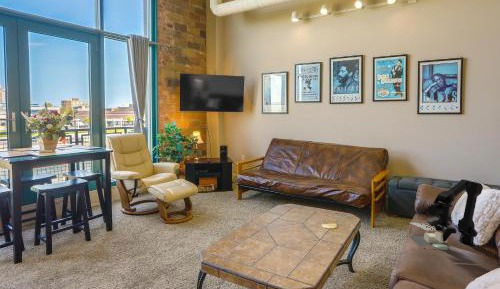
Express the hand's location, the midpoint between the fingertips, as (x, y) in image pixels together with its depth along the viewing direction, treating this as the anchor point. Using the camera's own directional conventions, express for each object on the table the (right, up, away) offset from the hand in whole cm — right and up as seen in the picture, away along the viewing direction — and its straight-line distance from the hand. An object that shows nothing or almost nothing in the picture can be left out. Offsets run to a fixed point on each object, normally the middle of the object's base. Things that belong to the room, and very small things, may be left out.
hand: (441, 239), depth 194 cm
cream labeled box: (+1, -4, +9) cm, 10 cm away
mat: (-3, -5, +7) cm, 9 cm away
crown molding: (+10, -3, +31) cm, 33 cm away
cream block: (0, -1, 0) cm, 1 cm away
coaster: (0, -5, 0) cm, 5 cm away
